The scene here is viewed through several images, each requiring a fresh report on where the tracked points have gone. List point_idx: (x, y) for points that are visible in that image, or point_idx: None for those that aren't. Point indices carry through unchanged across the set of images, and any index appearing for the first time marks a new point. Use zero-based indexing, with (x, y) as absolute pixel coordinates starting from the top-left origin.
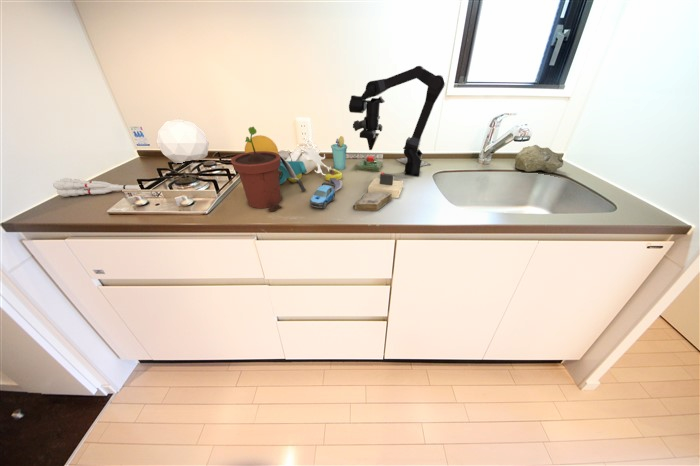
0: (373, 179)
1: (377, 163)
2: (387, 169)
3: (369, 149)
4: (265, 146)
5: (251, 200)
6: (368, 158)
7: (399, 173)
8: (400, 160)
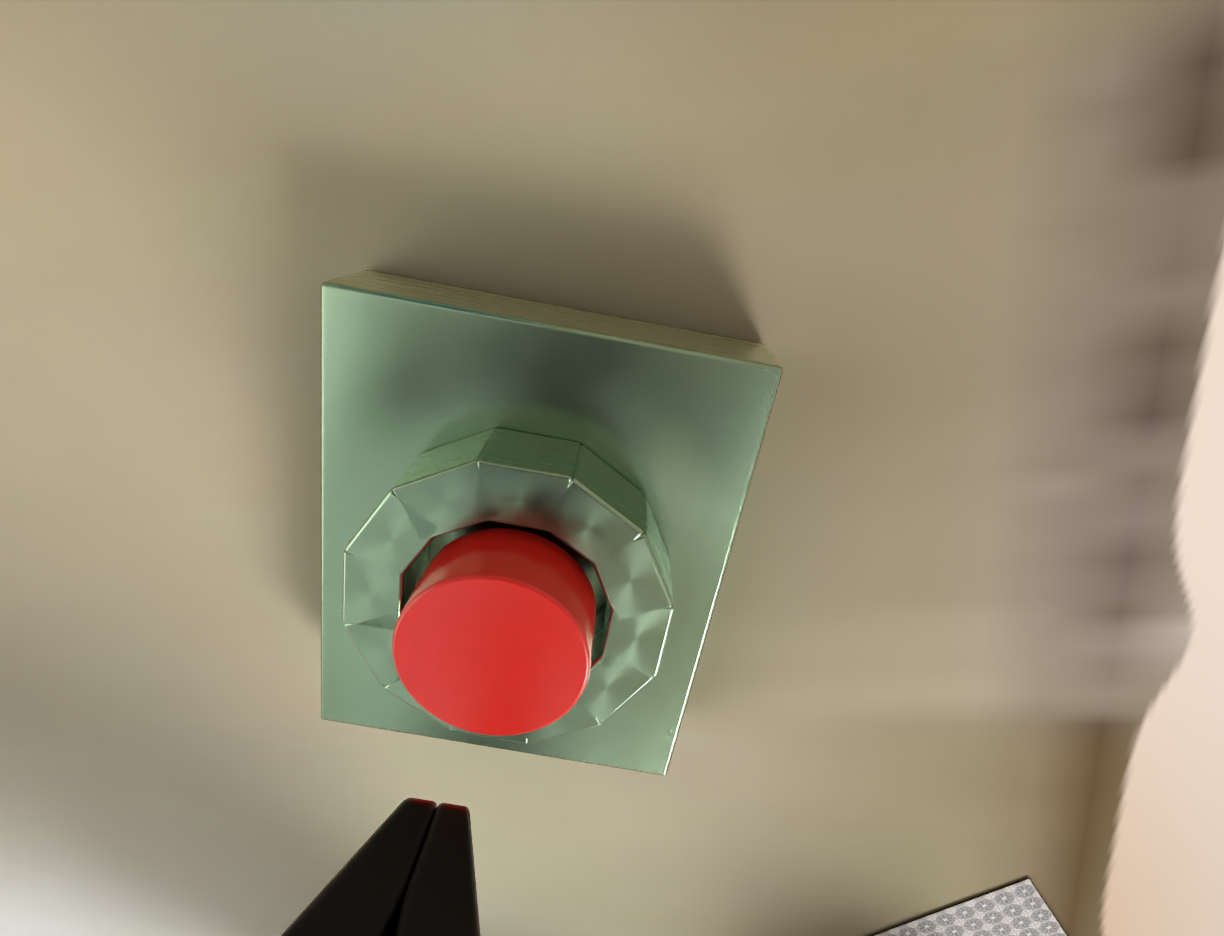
0: None
1: None
2: (512, 771)
3: (398, 811)
4: None
5: None
6: (404, 610)
7: None
8: (962, 933)
